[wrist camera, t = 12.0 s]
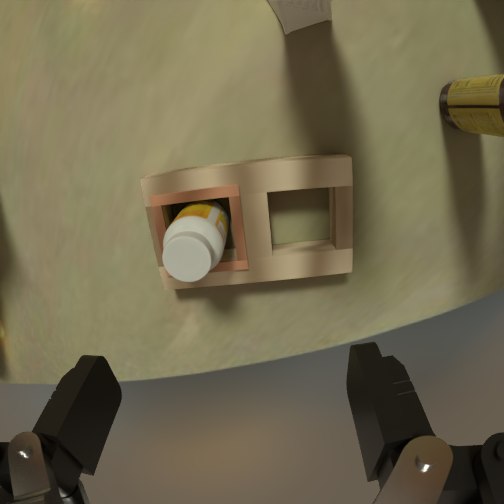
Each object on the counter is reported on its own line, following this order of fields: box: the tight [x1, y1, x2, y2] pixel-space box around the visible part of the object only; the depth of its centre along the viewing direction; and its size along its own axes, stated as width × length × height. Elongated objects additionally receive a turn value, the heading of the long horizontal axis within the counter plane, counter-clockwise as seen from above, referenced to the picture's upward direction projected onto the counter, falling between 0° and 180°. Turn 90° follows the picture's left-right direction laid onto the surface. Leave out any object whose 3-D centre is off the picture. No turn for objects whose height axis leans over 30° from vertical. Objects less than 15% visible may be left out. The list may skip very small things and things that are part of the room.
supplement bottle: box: [162, 199, 229, 282], centre depth 29 cm, size 5×5×10 cm
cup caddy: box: [140, 154, 353, 290], centre depth 32 cm, size 20×12×3 cm, turn 96°
